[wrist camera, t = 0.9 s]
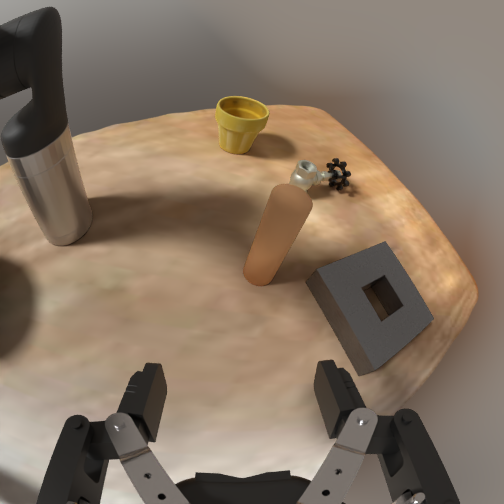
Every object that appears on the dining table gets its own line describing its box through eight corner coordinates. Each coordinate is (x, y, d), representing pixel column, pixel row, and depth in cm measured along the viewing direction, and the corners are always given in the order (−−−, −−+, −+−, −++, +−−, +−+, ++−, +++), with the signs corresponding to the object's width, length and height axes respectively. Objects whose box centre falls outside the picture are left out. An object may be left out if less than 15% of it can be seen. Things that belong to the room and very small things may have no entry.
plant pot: (266, 157, 55) (279, 119, 47) (219, 162, 51) (227, 120, 43) (247, 131, 59) (256, 95, 51) (204, 134, 55) (210, 96, 48)
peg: (238, 263, 39) (263, 187, 27) (264, 255, 41) (298, 181, 29) (251, 290, 37) (284, 219, 25) (278, 280, 39) (320, 211, 27)
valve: (296, 206, 49) (342, 196, 53) (308, 179, 43) (356, 173, 48) (278, 181, 51) (324, 174, 56) (288, 155, 46) (336, 151, 51)
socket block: (305, 282, 40) (316, 269, 37) (373, 253, 46) (385, 241, 43) (358, 376, 33) (374, 370, 30) (418, 327, 39) (434, 318, 36)
